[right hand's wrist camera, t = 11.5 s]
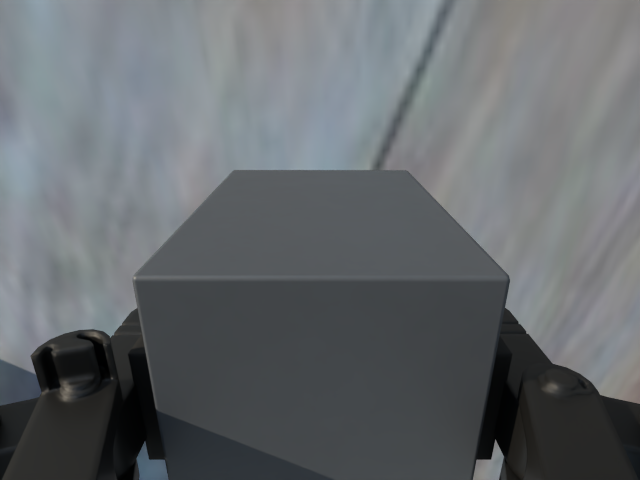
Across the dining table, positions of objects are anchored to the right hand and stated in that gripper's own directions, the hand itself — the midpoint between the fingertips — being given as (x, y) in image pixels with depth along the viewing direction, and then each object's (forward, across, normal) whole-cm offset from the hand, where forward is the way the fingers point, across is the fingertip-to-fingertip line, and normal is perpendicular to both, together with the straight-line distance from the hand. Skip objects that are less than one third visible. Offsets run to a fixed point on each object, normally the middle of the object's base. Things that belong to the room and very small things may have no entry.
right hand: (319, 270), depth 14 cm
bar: (+1, 0, -10) cm, 10 cm away
